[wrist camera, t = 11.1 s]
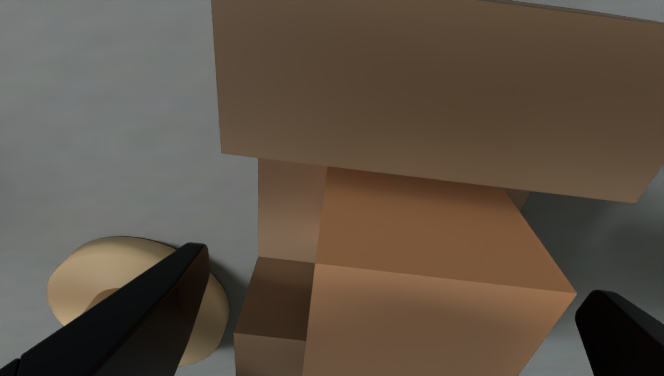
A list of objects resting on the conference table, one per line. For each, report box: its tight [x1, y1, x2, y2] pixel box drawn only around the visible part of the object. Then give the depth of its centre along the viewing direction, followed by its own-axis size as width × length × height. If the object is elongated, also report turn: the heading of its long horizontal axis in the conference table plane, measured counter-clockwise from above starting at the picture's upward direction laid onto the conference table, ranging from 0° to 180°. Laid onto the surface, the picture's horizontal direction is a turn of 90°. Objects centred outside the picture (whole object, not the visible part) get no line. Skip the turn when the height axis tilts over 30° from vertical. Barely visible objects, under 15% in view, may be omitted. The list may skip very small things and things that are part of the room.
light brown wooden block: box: [302, 166, 577, 376], centre depth 8 cm, size 4×4×5 cm
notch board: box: [211, 0, 664, 376], centre depth 10 cm, size 12×8×4 cm
